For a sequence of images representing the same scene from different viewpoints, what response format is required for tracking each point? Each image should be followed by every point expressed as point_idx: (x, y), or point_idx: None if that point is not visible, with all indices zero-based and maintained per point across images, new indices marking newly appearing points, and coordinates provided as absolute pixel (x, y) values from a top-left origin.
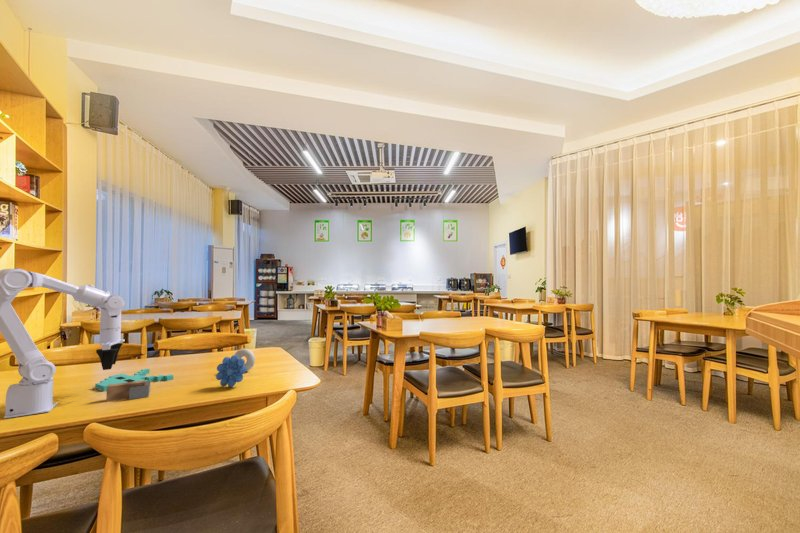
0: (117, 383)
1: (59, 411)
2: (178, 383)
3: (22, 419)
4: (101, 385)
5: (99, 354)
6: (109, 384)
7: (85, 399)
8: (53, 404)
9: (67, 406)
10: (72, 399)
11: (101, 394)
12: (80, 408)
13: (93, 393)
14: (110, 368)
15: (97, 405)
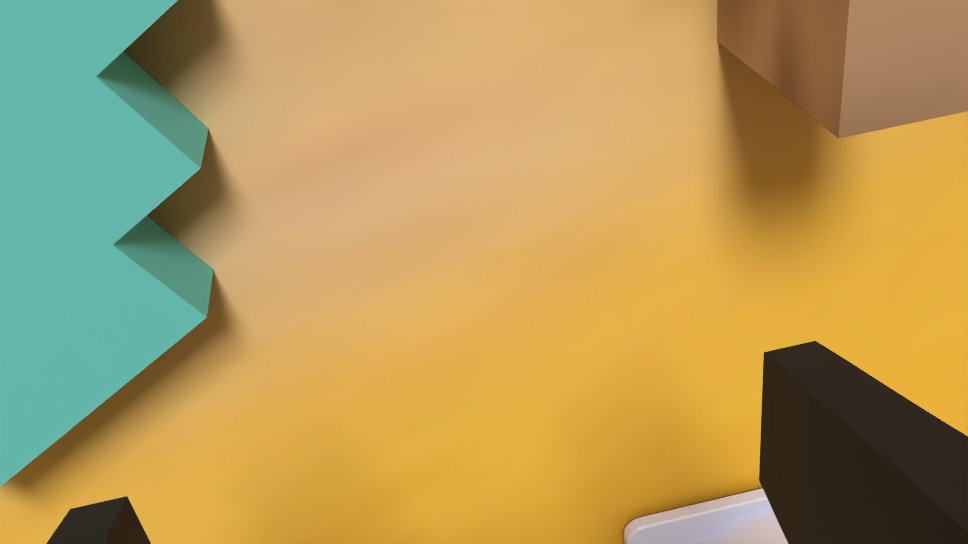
0: (34, 175)
1: (916, 381)
2: None
3: None
4: (127, 378)
5: None
6: (83, 285)
7: (564, 331)
8: (702, 526)
9: None
10: (493, 464)
11: (388, 235)
12: (946, 226)
13: (290, 358)
14: (837, 357)
15: None
